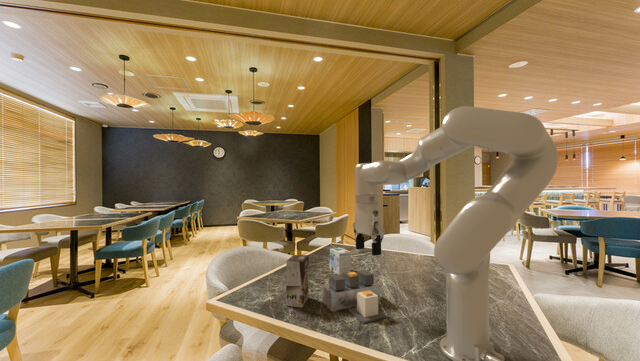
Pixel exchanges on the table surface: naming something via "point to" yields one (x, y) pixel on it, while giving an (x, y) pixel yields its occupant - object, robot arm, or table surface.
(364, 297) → the cap
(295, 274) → the coffee box
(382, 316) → the pad
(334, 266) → the light bulb box
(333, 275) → the toggle left
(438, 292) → the table surface
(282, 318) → the table surface
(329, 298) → the breaker console
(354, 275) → the toggle mid
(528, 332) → the table surface
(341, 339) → the table surface
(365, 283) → the toggle right
